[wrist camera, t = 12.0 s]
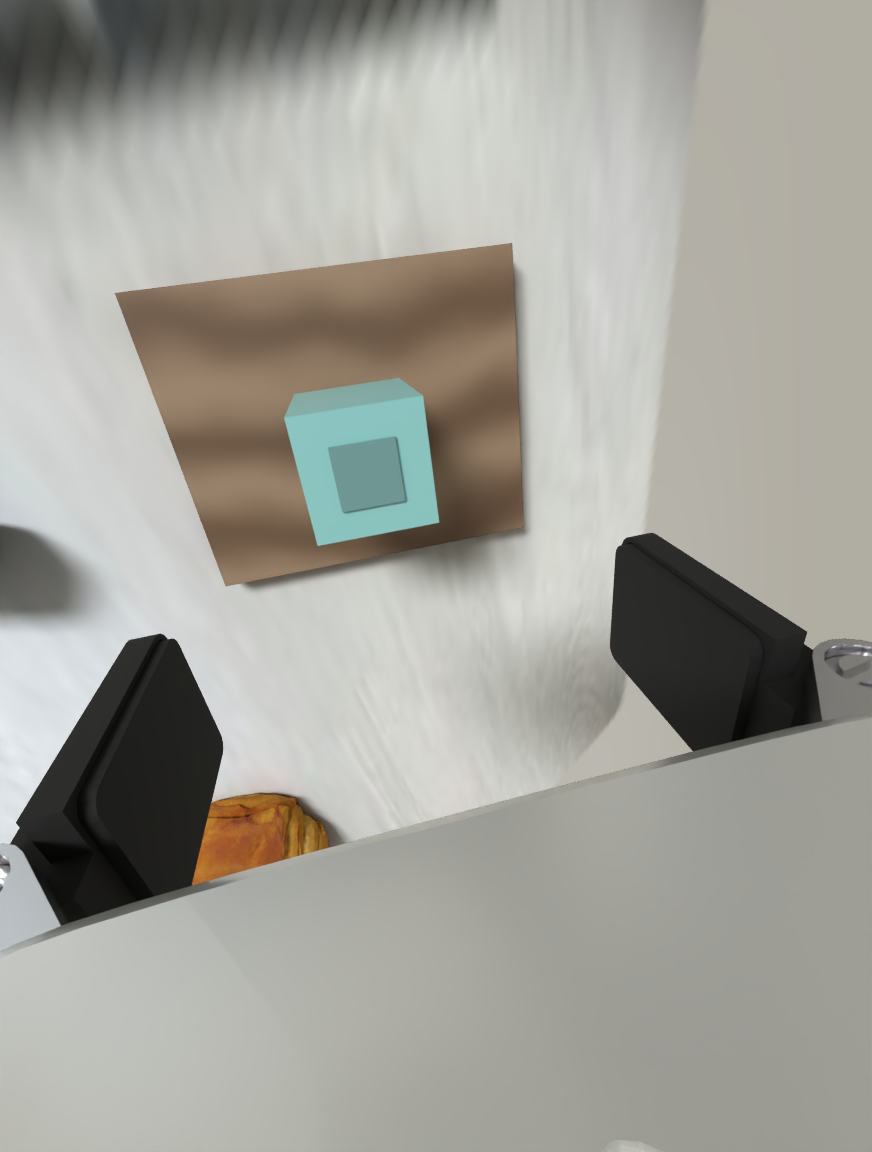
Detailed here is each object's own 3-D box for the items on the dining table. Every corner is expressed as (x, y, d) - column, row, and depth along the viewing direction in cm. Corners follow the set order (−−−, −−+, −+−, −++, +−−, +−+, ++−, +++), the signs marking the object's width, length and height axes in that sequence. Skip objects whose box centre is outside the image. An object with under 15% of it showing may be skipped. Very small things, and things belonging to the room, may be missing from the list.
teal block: (294, 394, 28) (283, 418, 21) (398, 377, 28) (423, 396, 21) (319, 495, 30) (317, 547, 23) (413, 478, 31) (440, 524, 24)
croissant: (322, 854, 56) (334, 929, 49) (168, 888, 50) (157, 978, 44) (330, 765, 49) (344, 837, 43) (154, 792, 44) (139, 880, 37)
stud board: (128, 294, 28) (23, 279, 18) (501, 247, 30) (583, 212, 21) (230, 573, 36) (196, 663, 27) (514, 518, 39) (576, 582, 29)
